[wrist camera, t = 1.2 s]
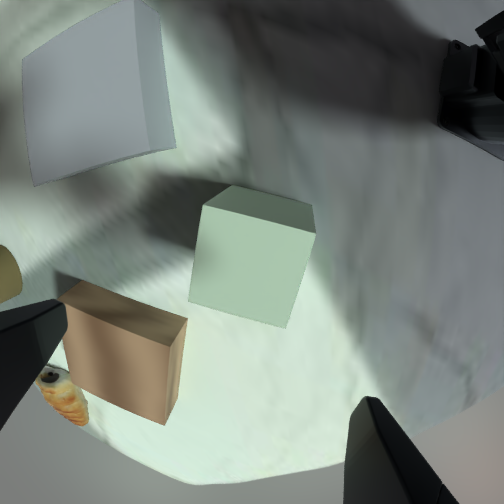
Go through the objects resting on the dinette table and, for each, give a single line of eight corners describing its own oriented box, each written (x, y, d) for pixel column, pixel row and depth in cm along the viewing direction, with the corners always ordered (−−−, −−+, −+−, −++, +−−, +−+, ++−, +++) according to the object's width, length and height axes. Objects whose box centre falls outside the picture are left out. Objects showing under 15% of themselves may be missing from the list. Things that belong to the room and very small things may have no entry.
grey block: (161, 15, 15) (133, -5, 12) (178, 147, 19) (150, 150, 15) (56, 64, 17) (22, 59, 14) (68, 177, 21) (33, 186, 17)
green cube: (311, 204, 18) (316, 233, 13) (290, 277, 20) (285, 328, 15) (232, 184, 19) (202, 204, 13) (217, 257, 21) (188, 301, 15)
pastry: (103, 422, 32) (90, 442, 28) (68, 409, 33) (55, 427, 30) (75, 369, 29) (57, 390, 25) (39, 359, 30) (22, 376, 26)
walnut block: (189, 316, 23) (170, 347, 19) (178, 395, 27) (164, 425, 23) (84, 278, 24) (56, 299, 20) (91, 359, 27) (72, 383, 24)
